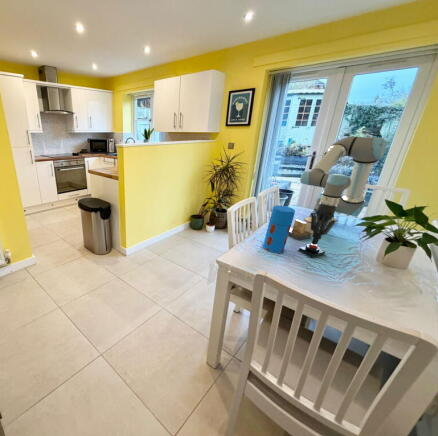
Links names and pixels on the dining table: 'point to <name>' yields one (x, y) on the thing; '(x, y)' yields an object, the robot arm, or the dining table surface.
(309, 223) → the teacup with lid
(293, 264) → the dining table surface
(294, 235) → the brown flat piece
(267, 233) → the thermos
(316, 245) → the button
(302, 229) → the tan square slab
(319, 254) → the button box
